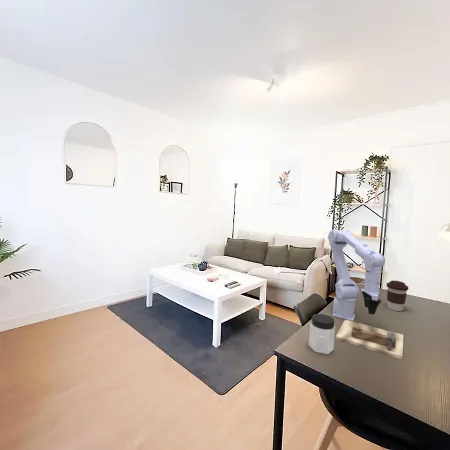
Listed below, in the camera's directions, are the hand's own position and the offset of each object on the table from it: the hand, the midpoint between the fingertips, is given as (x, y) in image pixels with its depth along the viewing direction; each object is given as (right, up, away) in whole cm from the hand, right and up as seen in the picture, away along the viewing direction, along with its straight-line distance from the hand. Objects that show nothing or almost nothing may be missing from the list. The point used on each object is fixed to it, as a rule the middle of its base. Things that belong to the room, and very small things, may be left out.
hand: (369, 310), depth 115 cm
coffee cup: (+29, -8, +28) cm, 41 cm away
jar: (-27, -10, -15) cm, 32 cm away
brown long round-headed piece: (-5, -9, -10) cm, 14 cm away
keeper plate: (-3, -10, -6) cm, 12 cm away
